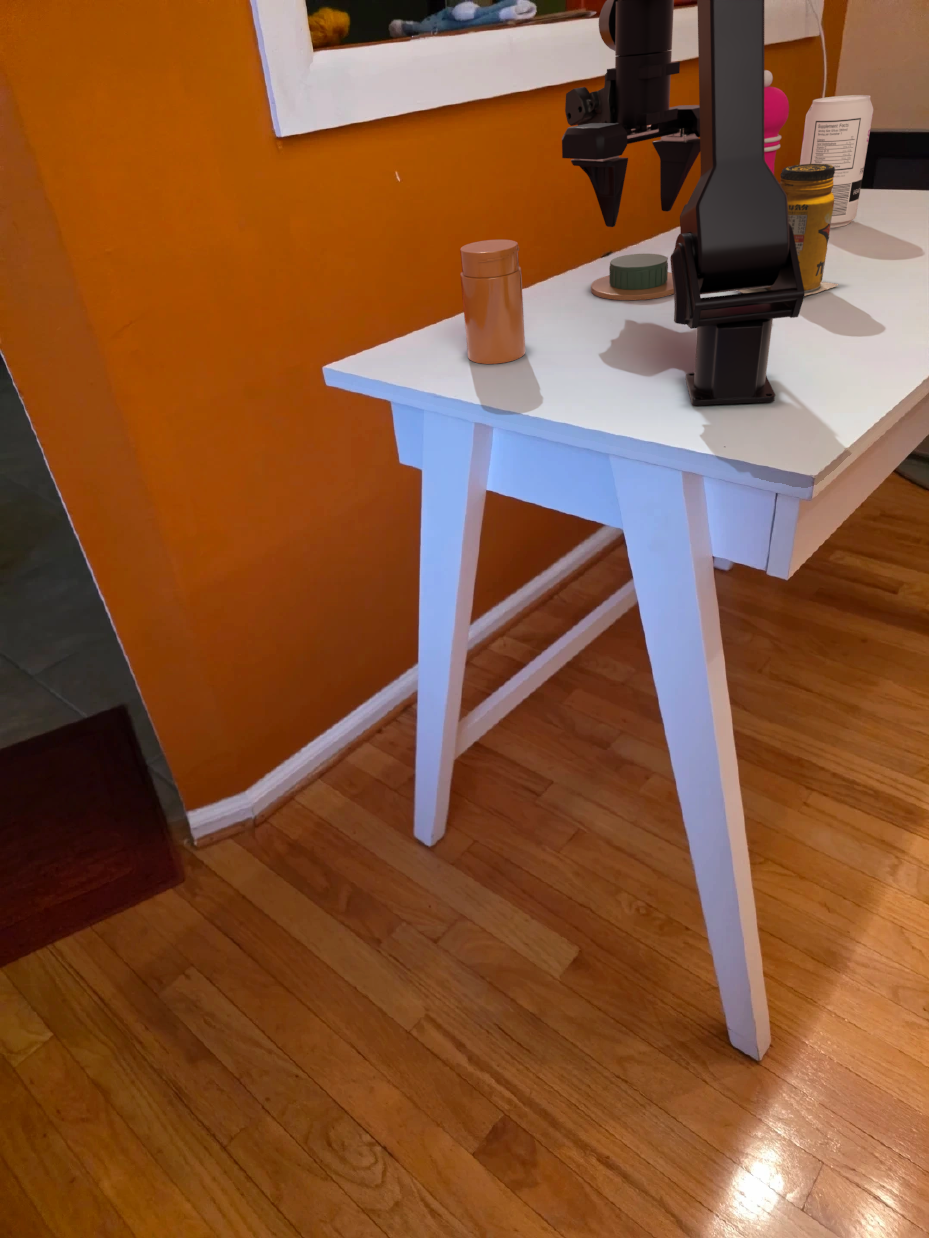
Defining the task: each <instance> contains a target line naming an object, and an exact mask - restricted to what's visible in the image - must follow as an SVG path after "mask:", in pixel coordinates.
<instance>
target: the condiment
mask: <svg viewBox="0 0 929 1238" xmlns="http://www.w3.org/2000/svg"><path fill="white" fill-rule="evenodd" d="M834 174H835V167H833V166H832V165H828V164H801V165H800V164H795V165H791V166H786V167H783V168H782V170H781V173H780V174H779V176H780V182H779V184H780V185H781V187H782V188H783V190H784V191H785V193H786V195H787V203H788V221H789V223H790V225H791V227H792V230H793V234H794V239H795V244H796V250H797V255H798V260H799V266H800V271H801V276H802V281H803V287H804V297H807V296H809V295H814V294H818V293H820V292H823V291H827V290H830V289H833V288H835V287H837V286H838V285H839V283H835V282H834V283H833V282H828V281H827V282H826V281H825V282H823V277H824V272H825V271H824V270H825V267H826V266H825V264H826V260H827V253H828V252H827V251H828V244H829V240H830V232H831V228H830V226H831V219H832V213H833V207H834V195H833V193H832V192H831V191H832V188H833V185H834V184H833V178H834ZM769 290H771V286H770V287H765V288H756V289H746V290H737V292H740V294H742V293H751V292H760V291H769Z"/></svg>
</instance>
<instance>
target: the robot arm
mask: <svg viewBox="0 0 929 1238" xmlns="http://www.w3.org/2000/svg"><path fill="white" fill-rule="evenodd" d="M674 6H675V0H605V2H604V3H603V5H602V7H601V10H600V14H599V16H598V17H599V18H598V31H599V36H600V38H601V41H602V42H603V43H604V45H605V46H606V47H607V48H609V49H610V50H611V51H614V52H615V53H614V54H615V57H614V59H615V61H614V67H612V68H606V73H604V86H603V87H602V88H600V89H598V90H595V91H591V92H590V91H589V90H588V88H587V87H586V86H582V87H576V88H572V89H571V90H569V91H568V92H567V93H565V106H564V112H565V118H566V122H567V124H568V125H569V126H568V127H567V129H566V130H565V132H564V134H563V135H562V137H561V158H562V159H570V163H571V164H572V166H574V167H579V168H580V169H581V170H582V171H583V172H584V173H585V174H586V175H587V177H588V178H589V181H590V183H591V186H592V188H593V191H594V193H595V196H596V200H597V202H598V206H599V208H600V212H601V215H602V218H603V221H604V224H605V226H606V227H607V228H614V227H615V226H616V224H617V220H618V216H619V212H620V207H621V201H622V196H623V190H624V185H625V179H626V173H627V168H628V163H629V162H628V161H629V157H621V156H622V155H623V154H624V153H625V151H626V148H627V147H628V145H631V144H634V143H639V142H645V141H648V140H653V139H658V140H654V141H652V142H651V144H652V146H653V147H654V149H655V151H656V153H657V155H658V157H659V165H660V166H659V168H660V169H659V170H660V171H659V172H660V173H659V174H660V175H659V178H660V179H659V182H660V183H659V184H660V185H659V190H660V194H659V195H660V209H661V211H662V212H670V211H671V210H672V209H673V206H674V204H675V202H676V200H677V198H678V196H679V194H680V192H681V190H682V187H683V186H684V183H685V181H686V179H687V177H688V175H689V173H690V171H691V169H692V168H693V165H694V164H695V162H696V160H697V158H698V157H699V154H700V176H699V179H698V181H697V182H696V185H695V187H694V189H693V192H692V193H691V194H690V196H689V198H688V201H687V202H686V203H685V204H684V206H683V207H682V211H681V213H680V215H679V227H680V228H679V229H680V230H679V231H680V233H679V234H678V235H677V238H676V241H675V245H674V248H673V252H672V253H671V255H670V257H669V258H670V270H671V273H672V279H673V288H674V294H673V298H674V299H673V300H674V301H673V302H674V310H673V322H674V324H677V325H684V326H685V325H686V326H687V327H688V328H689V329H690V330H692V329H693V330H694V329H697V331H696V345H695V359H694V360H695V362H694V372H687V373H686V374H685V382H686V387H687V389H688V390H687V391H688V394H689V398H690V402H691V404H692V405H696V406H707V405H708V406H709V405H710V406H711V405H729V404H730V405H731V404H732V405H733V404H734V405H735V404H753V403H756V404H757V403H772V402H775V400H776V393H775V391H774V389H773V387H772V384H771V383H770V381H769V379H768V376H767V371H768V370H767V369H768V363H769V362H768V361H769V354H770V345H771V338H772V329H773V321H774V319H783V318H790V319H794V318H799V316H800V311H801V309H802V305H803V303H804V299H805V296H804V287H803V281H802V276H801V271H800V266H799V260H798V255H797V250H796V244H795V239H794V234H793V230H792V227H791V225H790V223H789V221H788V203H787V195H786V193H785V191H784V190H783V188H782V187H781V185H780V182H779V180H778V179H777V177H776V176H775V173H774V174H773V173H772V171H771V170H770V168H769V166H768V165H767V163H766V162H765V155H764V71H765V0H697V5H696V6H697V42H698V43H697V45H698V46H697V47H698V49H697V50H698V52H697V53H698V95H699V96H698V98H699V101H698V102H699V103H698V104H692V105H691V104H690V105H689V104H688V105H685V104H683V105H681V104H680V105H675V106H670V101H671V79H672V78H671V77H672V75H677V74H680V71H681V68H680V67H681V61H672V53H673V50H672V49H673V32H674V31H673V28H674V27H673V26H674ZM659 138H660V139H659ZM770 286H771V290H769V291H760V292H751V293H734V294H725V295H717V296H716V295H715V296H707V297H702V296H701V295H709V294H717V293H719V294H720V293H726V292H735V291H737V290H746V289H756V288H765V287H770ZM737 292H738V291H737Z"/></svg>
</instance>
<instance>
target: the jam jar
mask: <svg viewBox="0 0 929 1238" xmlns="http://www.w3.org/2000/svg"><path fill="white" fill-rule="evenodd" d="M519 251H520V246H519V244H518V242H517V241H515V240H512V239H487V240H480V241H473V242H471V243H467V244H465V245H462V246H461V247H460V250H459V252H460V262H461V272H460V284H461V296H462V307H463V317H464V328H465V338H466V339H465V340H466V349H467V350H466V351H467V358H468V359H469V360H470V362H473V363H477V364H483V365H494V364H495V365H496V364H497V365H498V364H504V363H505V364H506V363H509V362H513V361H516V360H519V359H520V358H522V357H523V356H525V354H526V337H525V319H524V317H525V316H524V302H523V301H524V297H523V279H522V278H523V276H522V267H521V266H520V261H519Z"/></svg>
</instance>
